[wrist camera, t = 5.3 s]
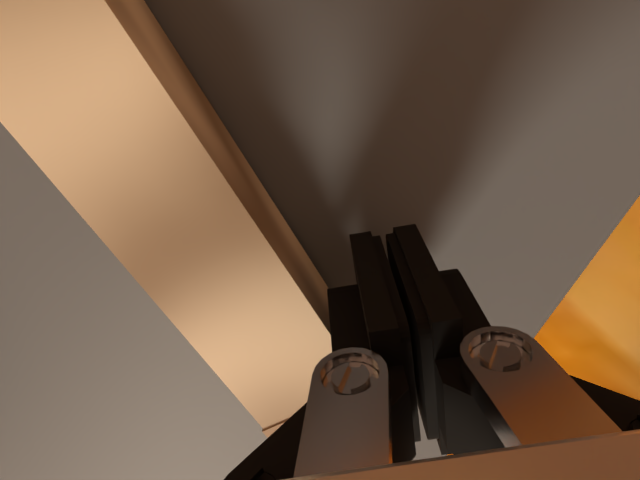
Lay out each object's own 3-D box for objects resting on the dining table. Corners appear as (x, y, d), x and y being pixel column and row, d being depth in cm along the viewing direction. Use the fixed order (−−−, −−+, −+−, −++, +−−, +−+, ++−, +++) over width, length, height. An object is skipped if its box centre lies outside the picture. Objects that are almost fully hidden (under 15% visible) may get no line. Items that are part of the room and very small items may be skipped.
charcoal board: (-283, -592, 7) (-365, -672, 6) (753, -10, 11) (792, -10, 11) (-189, 463, 18) (-215, 487, 17) (340, 571, 22) (342, 595, 21)
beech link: (-261, -244, 8) (-446, -322, 6) (-75, -424, 7) (-220, -586, 5) (282, 419, 16) (279, 483, 14) (405, 367, 15) (422, 426, 13)
